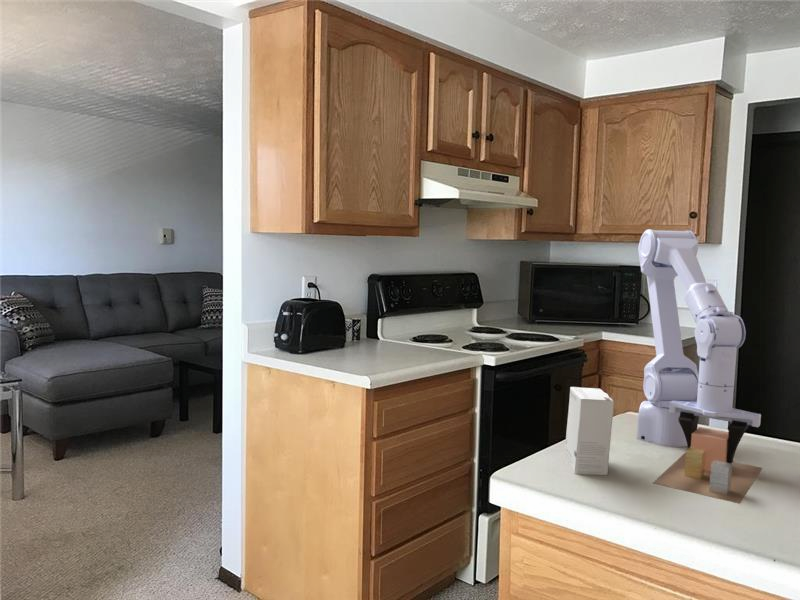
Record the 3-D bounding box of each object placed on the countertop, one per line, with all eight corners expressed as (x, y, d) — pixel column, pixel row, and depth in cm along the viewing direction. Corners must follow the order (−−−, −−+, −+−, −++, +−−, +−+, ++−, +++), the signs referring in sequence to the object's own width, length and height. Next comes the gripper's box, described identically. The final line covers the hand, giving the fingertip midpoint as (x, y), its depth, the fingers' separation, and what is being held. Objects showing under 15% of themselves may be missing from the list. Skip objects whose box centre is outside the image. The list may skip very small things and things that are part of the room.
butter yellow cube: (684, 475, 114) (686, 450, 113) (688, 471, 116) (689, 446, 115) (700, 479, 112) (702, 453, 112) (704, 475, 114) (706, 449, 114)
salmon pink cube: (689, 466, 119) (691, 433, 118) (697, 458, 123) (699, 427, 122) (723, 474, 115) (726, 440, 115) (730, 465, 120) (732, 433, 119)
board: (651, 491, 110) (652, 482, 110) (685, 460, 127) (685, 452, 127) (738, 512, 102) (739, 503, 102) (761, 475, 119) (762, 467, 119)
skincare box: (563, 466, 122) (567, 386, 120) (596, 467, 122) (600, 386, 120) (574, 483, 113) (579, 397, 112) (610, 484, 113) (615, 398, 112)
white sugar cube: (709, 491, 107) (711, 464, 106) (712, 486, 109) (714, 460, 109) (726, 495, 105) (728, 467, 105) (730, 490, 107) (732, 463, 107)
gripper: (666, 380, 119) (662, 455, 120) (758, 393, 110) (751, 473, 111) (677, 375, 124) (672, 446, 126) (765, 387, 116) (759, 463, 117)
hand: (710, 458), depth 119 cm, fingers closed on salmon pink cube, 6 cm apart
